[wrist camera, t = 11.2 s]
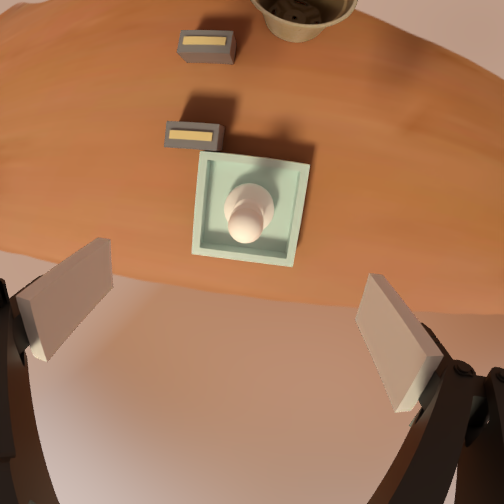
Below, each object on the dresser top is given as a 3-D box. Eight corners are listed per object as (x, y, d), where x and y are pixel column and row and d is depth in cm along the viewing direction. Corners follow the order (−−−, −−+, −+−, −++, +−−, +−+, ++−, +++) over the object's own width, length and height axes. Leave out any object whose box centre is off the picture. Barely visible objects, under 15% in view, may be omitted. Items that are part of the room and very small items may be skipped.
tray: (306, 163, 30) (310, 164, 28) (290, 258, 34) (292, 267, 31) (204, 150, 30) (200, 151, 27) (196, 246, 33) (191, 253, 31)
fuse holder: (236, 43, 26) (232, 29, 22) (222, 150, 30) (215, 151, 26) (190, 42, 26) (180, 29, 22) (175, 146, 30) (162, 147, 26)
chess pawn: (266, 176, 30) (267, 189, 22) (279, 222, 32) (285, 251, 23) (219, 190, 31) (202, 208, 22) (233, 235, 32) (223, 268, 24)
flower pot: (253, 59, 26) (250, 30, 18) (244, -10, 23) (239, -50, 15) (342, 56, 26) (368, 30, 17) (328, -12, 22) (346, -49, 14)
